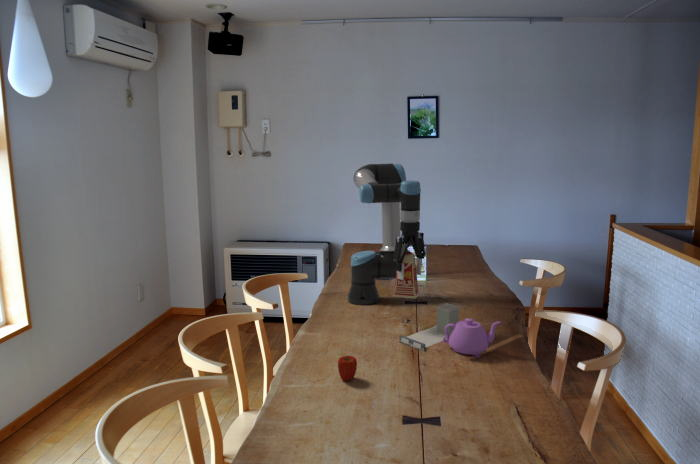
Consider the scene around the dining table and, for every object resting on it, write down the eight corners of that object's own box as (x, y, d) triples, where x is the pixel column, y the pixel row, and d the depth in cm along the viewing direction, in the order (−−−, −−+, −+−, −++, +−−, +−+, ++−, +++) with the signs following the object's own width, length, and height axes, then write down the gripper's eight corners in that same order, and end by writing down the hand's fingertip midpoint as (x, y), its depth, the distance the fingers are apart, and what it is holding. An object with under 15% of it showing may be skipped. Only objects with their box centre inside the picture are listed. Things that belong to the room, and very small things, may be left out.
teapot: (497, 346, 199) (499, 314, 197) (500, 362, 186) (502, 328, 183) (443, 343, 203) (443, 311, 201) (442, 358, 189) (442, 324, 187)
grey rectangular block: (436, 331, 212) (436, 306, 210) (446, 327, 216) (446, 303, 214) (448, 335, 208) (449, 310, 206) (458, 331, 212) (459, 306, 210)
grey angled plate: (399, 342, 204) (399, 335, 204) (439, 327, 220) (439, 321, 219) (423, 351, 195) (423, 344, 195) (463, 335, 211) (464, 328, 211)
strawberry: (350, 385, 170) (350, 363, 168) (334, 380, 173) (333, 358, 172) (360, 377, 175) (360, 356, 174) (344, 373, 178) (344, 352, 177)
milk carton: (416, 298, 210) (417, 248, 206) (392, 296, 212) (393, 247, 208) (418, 291, 219) (419, 243, 215) (396, 290, 221) (396, 242, 217)
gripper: (397, 225, 199) (397, 284, 203) (435, 218, 213) (434, 273, 217) (383, 223, 204) (382, 280, 209) (421, 216, 219) (420, 269, 223)
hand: (409, 276), depth 213 cm, fingers closed on milk carton, 9 cm apart
